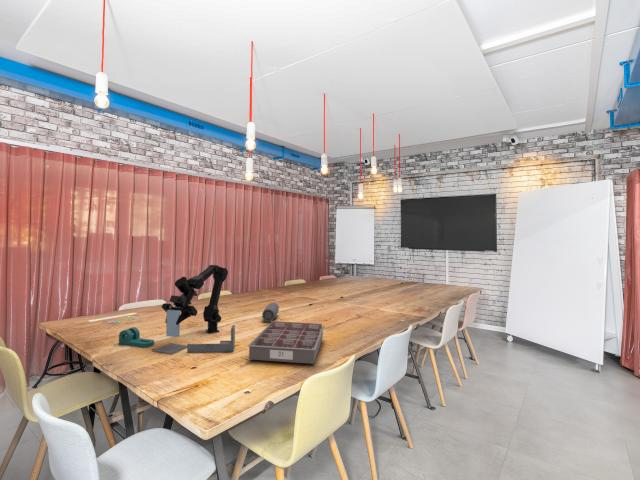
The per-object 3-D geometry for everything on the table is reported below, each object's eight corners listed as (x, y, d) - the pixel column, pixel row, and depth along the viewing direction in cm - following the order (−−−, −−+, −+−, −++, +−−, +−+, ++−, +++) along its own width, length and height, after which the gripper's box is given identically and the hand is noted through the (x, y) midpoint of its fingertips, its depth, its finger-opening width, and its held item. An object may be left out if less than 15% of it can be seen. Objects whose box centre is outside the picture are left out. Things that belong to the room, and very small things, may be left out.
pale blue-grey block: (169, 334, 171) (170, 309, 171) (179, 335, 170) (179, 310, 169) (166, 336, 169) (166, 310, 169) (176, 337, 167) (176, 311, 167)
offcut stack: (220, 349, 171) (220, 341, 171) (230, 349, 172) (230, 341, 172) (219, 351, 169) (219, 343, 169) (229, 351, 169) (229, 343, 169)
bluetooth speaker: (275, 323, 224) (275, 308, 224) (261, 323, 224) (261, 308, 224) (279, 315, 246) (279, 302, 246) (267, 315, 247) (267, 301, 246)
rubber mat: (170, 344, 177) (170, 343, 177) (188, 347, 173) (188, 345, 173) (152, 351, 166) (152, 350, 166) (171, 354, 162) (171, 353, 162)
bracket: (118, 344, 175) (119, 329, 175) (129, 340, 181) (129, 326, 181) (147, 348, 170) (147, 333, 170) (157, 344, 177) (157, 329, 177)
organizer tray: (246, 362, 155) (247, 341, 155) (269, 337, 194) (269, 320, 194) (315, 367, 151) (315, 345, 151) (323, 340, 191) (324, 323, 191)
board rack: (190, 348, 171) (190, 325, 171) (234, 348, 174) (235, 325, 173) (187, 352, 165) (187, 328, 165) (233, 352, 168) (233, 328, 168)
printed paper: (135, 313, 243) (135, 311, 243) (156, 321, 226) (156, 318, 226) (87, 321, 219) (88, 318, 219) (107, 330, 202) (108, 328, 202)
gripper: (164, 287, 175) (147, 313, 165) (194, 290, 170) (178, 316, 160) (174, 300, 183) (159, 325, 173) (203, 302, 178) (189, 328, 167)
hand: (171, 323), depth 168 cm, fingers closed on pale blue-grey block, 6 cm apart
